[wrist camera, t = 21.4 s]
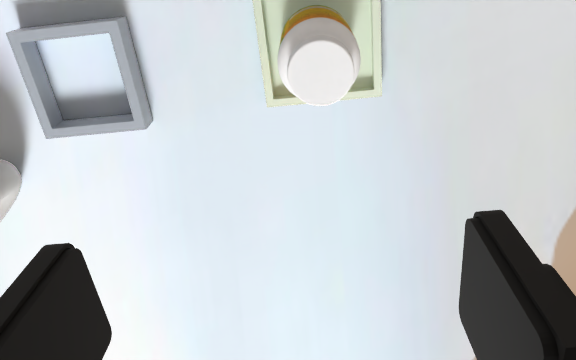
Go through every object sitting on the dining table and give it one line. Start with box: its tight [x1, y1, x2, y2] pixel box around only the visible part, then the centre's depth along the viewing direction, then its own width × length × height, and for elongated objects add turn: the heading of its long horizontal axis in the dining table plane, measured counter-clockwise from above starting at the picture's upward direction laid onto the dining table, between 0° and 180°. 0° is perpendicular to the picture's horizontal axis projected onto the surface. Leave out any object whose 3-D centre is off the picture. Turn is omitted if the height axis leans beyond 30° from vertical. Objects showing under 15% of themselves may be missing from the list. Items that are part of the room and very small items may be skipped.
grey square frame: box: [6, 16, 153, 139], centre depth 37 cm, size 9×9×2 cm
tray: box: [252, 0, 382, 107], centre depth 35 cm, size 9×9×2 cm
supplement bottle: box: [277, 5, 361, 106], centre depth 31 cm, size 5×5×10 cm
